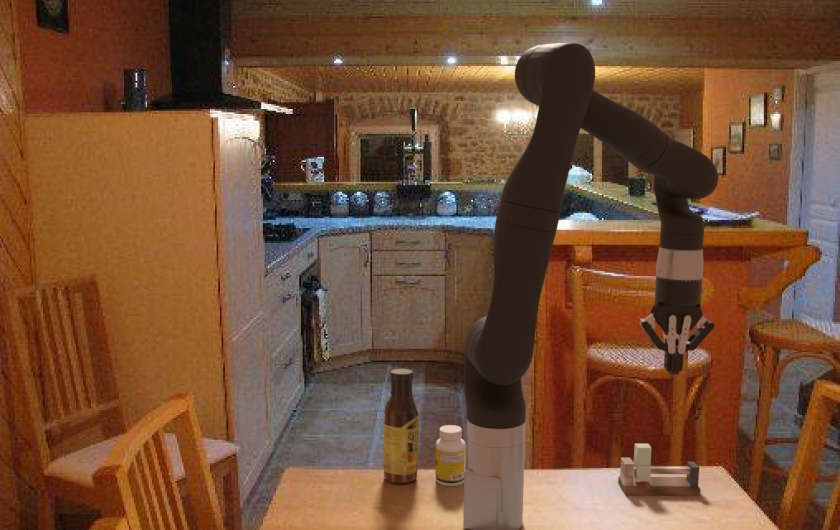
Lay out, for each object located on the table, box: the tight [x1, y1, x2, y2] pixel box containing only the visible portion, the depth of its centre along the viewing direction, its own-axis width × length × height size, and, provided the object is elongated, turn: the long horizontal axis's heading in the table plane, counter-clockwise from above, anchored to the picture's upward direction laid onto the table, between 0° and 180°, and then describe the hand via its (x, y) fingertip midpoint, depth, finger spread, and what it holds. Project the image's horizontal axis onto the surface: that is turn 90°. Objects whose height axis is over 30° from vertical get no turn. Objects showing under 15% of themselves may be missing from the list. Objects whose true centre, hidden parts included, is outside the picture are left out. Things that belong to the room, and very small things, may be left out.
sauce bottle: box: [383, 368, 420, 485], centre depth 146 cm, size 7×6×20 cm
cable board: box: [617, 457, 701, 496], centre depth 144 cm, size 13×5×5 cm, turn 90°
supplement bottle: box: [435, 424, 466, 487], centre depth 146 cm, size 5×5×10 cm
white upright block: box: [632, 443, 652, 480], centre depth 143 cm, size 2×3×6 cm
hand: (672, 373), depth 141 cm, fingers closed
